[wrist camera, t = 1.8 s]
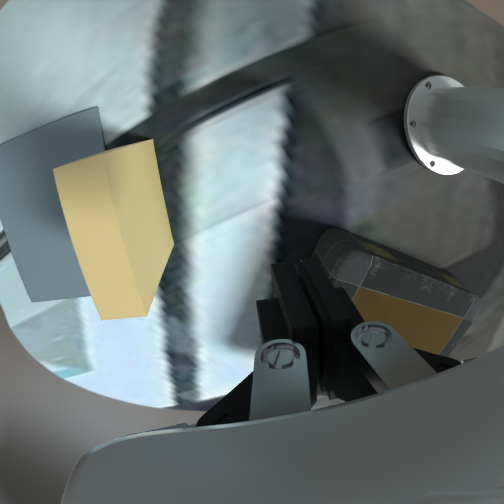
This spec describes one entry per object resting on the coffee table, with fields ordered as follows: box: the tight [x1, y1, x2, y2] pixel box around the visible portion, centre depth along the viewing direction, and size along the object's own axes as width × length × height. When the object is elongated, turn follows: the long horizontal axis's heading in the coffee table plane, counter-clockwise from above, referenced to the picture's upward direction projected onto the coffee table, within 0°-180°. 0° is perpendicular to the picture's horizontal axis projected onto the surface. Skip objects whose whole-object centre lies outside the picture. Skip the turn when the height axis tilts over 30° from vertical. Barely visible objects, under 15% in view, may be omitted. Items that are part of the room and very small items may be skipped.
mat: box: [0, 107, 106, 302], centre depth 32 cm, size 18×22×1 cm
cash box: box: [311, 228, 482, 396], centre depth 38 cm, size 25×20×8 cm
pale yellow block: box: [53, 139, 174, 320], centre depth 26 cm, size 4×12×14 cm, turn 7°
